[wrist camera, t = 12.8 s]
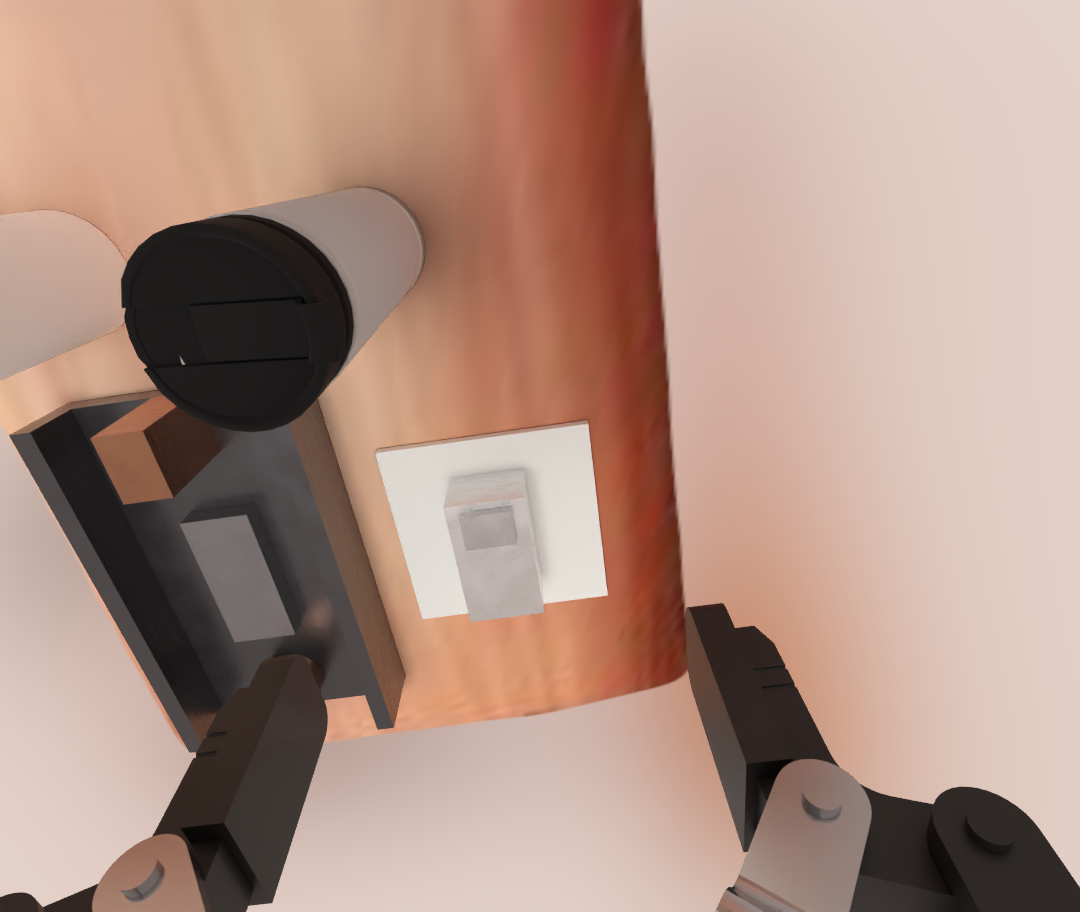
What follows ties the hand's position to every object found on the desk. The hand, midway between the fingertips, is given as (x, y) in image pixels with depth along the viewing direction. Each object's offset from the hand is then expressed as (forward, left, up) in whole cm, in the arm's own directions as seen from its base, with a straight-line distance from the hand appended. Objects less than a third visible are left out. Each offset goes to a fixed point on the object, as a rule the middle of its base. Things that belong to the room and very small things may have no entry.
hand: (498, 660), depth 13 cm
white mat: (+8, -11, -27) cm, 31 cm away
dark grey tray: (-3, -25, -27) cm, 37 cm away
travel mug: (-9, -2, -28) cm, 29 cm away
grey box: (+8, -11, -27) cm, 30 cm away
